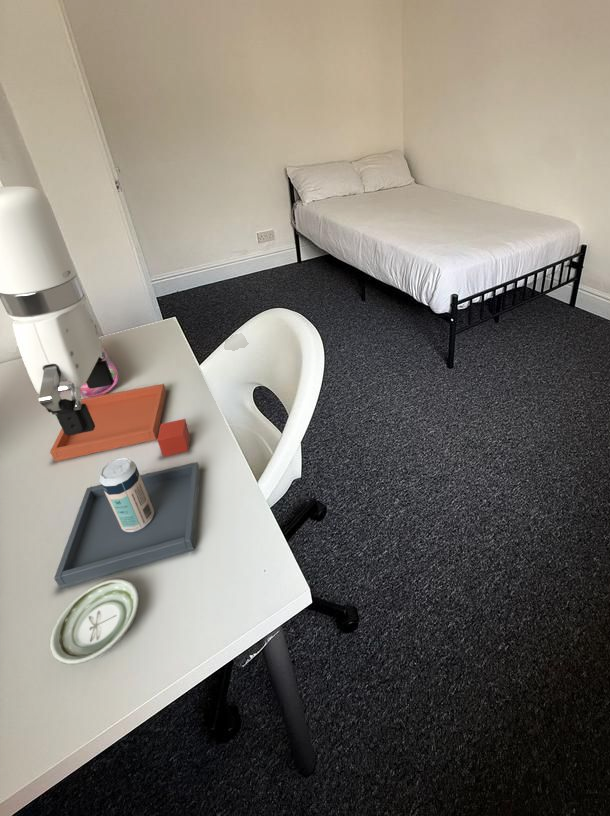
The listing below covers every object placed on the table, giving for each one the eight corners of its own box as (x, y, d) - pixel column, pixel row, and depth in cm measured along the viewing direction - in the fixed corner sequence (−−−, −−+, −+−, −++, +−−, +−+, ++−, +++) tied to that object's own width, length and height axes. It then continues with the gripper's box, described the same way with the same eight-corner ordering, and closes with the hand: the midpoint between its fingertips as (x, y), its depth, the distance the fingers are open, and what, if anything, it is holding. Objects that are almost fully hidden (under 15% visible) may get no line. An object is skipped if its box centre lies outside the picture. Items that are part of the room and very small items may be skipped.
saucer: (153, 627, 54) (148, 617, 53) (65, 694, 48) (58, 684, 47) (130, 573, 61) (125, 563, 60) (50, 627, 55) (43, 616, 54)
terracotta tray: (54, 461, 79) (49, 451, 78) (80, 408, 92) (76, 399, 91) (156, 439, 84) (152, 430, 83) (166, 392, 97) (163, 383, 96)
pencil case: (65, 365, 107) (52, 335, 103) (106, 352, 112) (95, 323, 108) (79, 407, 93) (65, 374, 89) (125, 389, 98) (113, 358, 94)
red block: (163, 457, 80) (157, 440, 78) (166, 440, 84) (160, 423, 82) (188, 451, 81) (183, 434, 79) (190, 435, 85) (185, 418, 83)
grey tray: (60, 589, 59) (53, 578, 58) (91, 498, 72) (86, 487, 71) (194, 550, 64) (190, 539, 62) (200, 471, 77) (197, 461, 76)
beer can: (150, 501, 70) (130, 450, 65) (158, 521, 67) (137, 469, 62) (118, 518, 68) (94, 466, 62) (125, 540, 64) (100, 487, 59)
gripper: (36, 272, 55) (80, 376, 63) (-35, 337, 41) (34, 461, 49) (100, 265, 58) (135, 366, 65) (54, 324, 43) (106, 446, 51)
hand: (92, 407), depth 57 cm, fingers open, 9 cm apart
